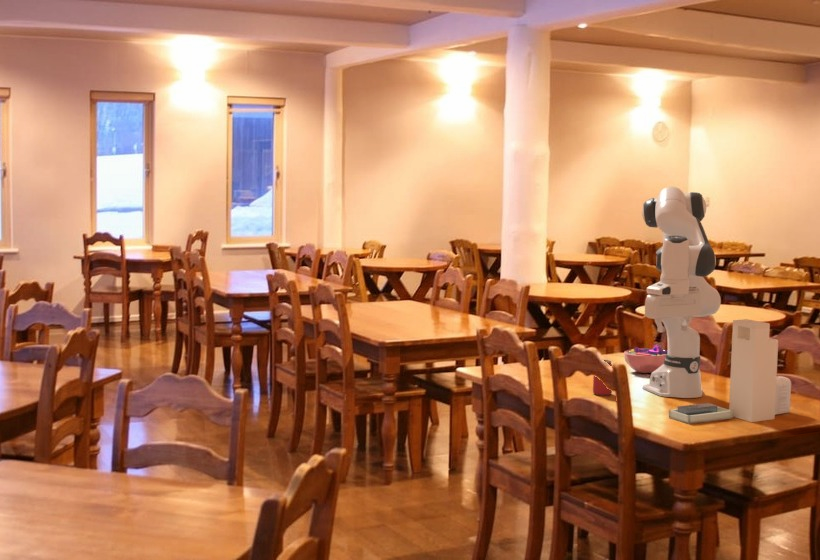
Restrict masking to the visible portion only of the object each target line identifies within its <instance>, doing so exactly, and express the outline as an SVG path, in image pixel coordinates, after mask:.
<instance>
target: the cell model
mask: <svg viewBox="0 0 820 560" xmlns="http://www.w3.org/2000/svg"><path fill="white" fill-rule="evenodd" d="M667 351H668V349H664V348H663V346H661V345H659V344H658V343H655V344H653V347H652V348H641V347H640V348H639V347H637V346H635V347H634V348H633V349H627V350H624V352H623V354H624V361H625V363H626V364H627V365H628V366H629V367H630V368H631V369H632V370H633V371H636V372H639V373H642V374H651V373H652V372H653V371H655V370H656V369H658V368H659V367H660V366H662V365H663V364H664V360H665V358H664V359H662V358H663V357H665V356H663V355H667Z"/></svg>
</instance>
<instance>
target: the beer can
mask: <svg viewBox="0 0 820 560" xmlns="http://www.w3.org/2000/svg"><path fill="white" fill-rule="evenodd" d="M603 360H604V361H605V362H607V363H608V364H609V365H610V366H612V367H613V365H612V360H608V359H603ZM592 380H593V382H592V392H593V394H594V395H595V396H602V397H603V396H610V395H612V393H613V390H612V391H611V390H609V389H607V388H606V386H605V385H604V384H603V382H602V381H601V380H599V379H598V378H597V377H595V376H593V379H592Z"/></svg>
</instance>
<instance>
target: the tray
mask: <svg viewBox="0 0 820 560" xmlns="http://www.w3.org/2000/svg"><path fill="white" fill-rule="evenodd" d="M668 418H669V419H672V420H675V421H679V422H681V423H685V424H687V425H690V424H698V423H707V422H715V421H723V420H731V419H733V418H734V417H733V411H732V410H729V408H724V407H722V406H718V405H717V412H714V413H706V414H698V415H686V414H683V413H680V412H678V408H676V409H675V408H674V409H669V410H668Z"/></svg>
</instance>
